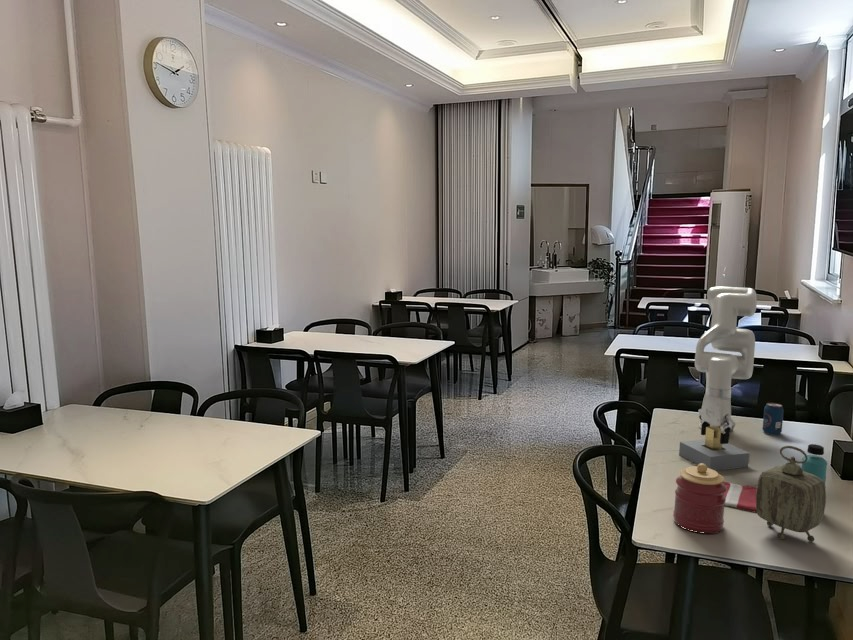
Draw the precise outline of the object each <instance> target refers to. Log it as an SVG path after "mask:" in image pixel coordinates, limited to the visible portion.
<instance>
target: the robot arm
mask: <svg viewBox="0 0 853 640" xmlns="http://www.w3.org/2000/svg"><path fill="white" fill-rule="evenodd" d="M706 297H707V299H706V300H707V303H708V306H709V309H710V311H711V326H710V328H709V329H708V330H707V331H705V332H704V333H703V334H702V335H701V336H700V338H699V339H698V341H697V343H696V346H695V354H694V367H695V369H696V371H698V372H700V373H705V377H706V382H705V383H706V384H705V393H704V397H703V400H702V405H701V408H699V409H698V415H699V416H698V419H700V423H699V424H698V428H700V435H701V436H706V427H710V426H717V427H719V426H720V428H721V430H722V433H721V436H720V444H730V443H729V442H730V434H731V433H732V432H733V430H734V428H735V427H736V422H735V420H734V419H733V418H732V405H731V403H732V401H731V398H732V387H731V386H732V379H735V380H736V379H738V380H748V379H750V378H752V375H753V372H754V361H755V349H756V348H755V347H756V337H755V333H754V332H753V331H752V330H750V329H747V328H737V325H738V324H737V323H738V322H737V321H738V317H753V316H754V315H755V313H756V311H757V304H758V303H757V302H758V301H757V292H756V290H755V289H754V288H751V287H742V286H741V287H739V286H738V287H737V286H721V285H720V286H719V285H718V286H712V287H710V288H709V289H708V290H707V293H706ZM709 344H711V347H712V349H713V350H717V351H723V353H722V352H715V351H714V352H713V351H705V348H706V347H707V346H708V345H709ZM725 352H732V353H739V354H731V353H725ZM740 354H741V355H740ZM731 431H732V432H731Z"/></svg>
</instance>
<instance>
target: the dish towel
mask: <svg viewBox="0 0 853 640" xmlns="http://www.w3.org/2000/svg"><path fill="white" fill-rule="evenodd" d="M722 483H724V484H725V485H726V487H727V490H726V491H725V492H724V497H725V499H726V501H725V506H724V507H730V506H731V508H734V507H735V509H738V508H739V510H742V509H744V510H743V511H747V510H749V511H748V512H752V511H755V512H754V513H757V509H756V490H757V486H752V485H744V484H743V485H742V484H736V483H731V482H728V481H723V482H722Z"/></svg>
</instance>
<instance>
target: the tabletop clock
mask: <svg viewBox="0 0 853 640" xmlns="http://www.w3.org/2000/svg"><path fill="white" fill-rule="evenodd" d="M785 449H789V450H791V449H792V450H794V451H797V452H800V453H801V454H802V455H804V457H805V458H806V459H805V460H804V461H802V460H796V457H795V456H791V457H790V458H789V457H787V456H785V455H784V454H783V453H782V452H783V450H785ZM779 454H780V456H781V457H782V458H783V459H784V460H786V463H783V464H781V465H776V466H773V467H771V468H768V469H766V470H763V471H762V472H761V473H760V474H759V476H758V477H759V478H758V480H757V485H756V487H757V490H756V509H757V512H756V513H757V515H758V517H760V519H762V520H764V521H766V524H767V526H769V527H773V526H774V525H775V526H777V527H780V528H781V530H780V532H779V533H777V537H778V538H779V539H780V538H781V540H783V539H785V537H786V535H785V533H784V532H785V530H789V531H791V532H797V533H805V534H806V535H807V538H806V539H807V540H809V542H810V541H811V542H814V541H815V537H814V536H813V535H810V533H809V531H811V530H812V529H814V528H816V527H818V526H819V525H820V524H821V522H822V520H823V517H824V515H825V514H824V513H825V510H826V509H825V508H826V504H827V503H826V502H827V501H826V498H827V494H826V493H827V492H826V489H825V485H826V484H825V485H824V482H823V480H822V479H820V478H819V477H817V476H815V475H813V474H810V473H807V472H804V471H802V466H801V465H802V463H805V462H806V461H807V459H808V458H807V455H808V454H806V453H805V451H804V450H802V449H801V448H799V447H796V446H793V445H784V446H781V448H780V449H779ZM800 464H801V465H800Z"/></svg>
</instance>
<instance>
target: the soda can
mask: <svg viewBox="0 0 853 640" xmlns="http://www.w3.org/2000/svg"><path fill="white" fill-rule="evenodd" d="M765 404H766V405H765V406H764V408H763V418H762V419H763V421H762V431H763V433H764V434H766V435H769V434H770V435H771V436H779V435H781V433H782V432H783V423H784V422H783V421H784V412H785V411H784V407H783V404H781V403H776V402H767V403H765ZM770 435H769V436H770Z"/></svg>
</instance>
